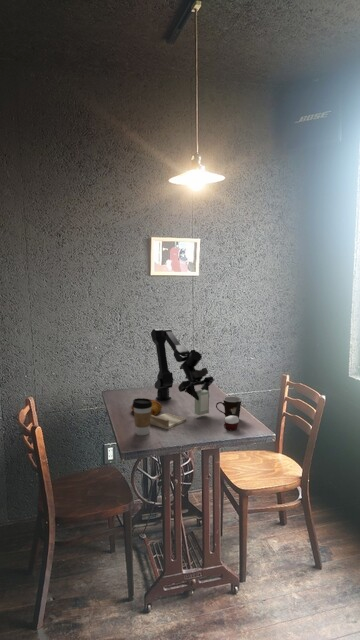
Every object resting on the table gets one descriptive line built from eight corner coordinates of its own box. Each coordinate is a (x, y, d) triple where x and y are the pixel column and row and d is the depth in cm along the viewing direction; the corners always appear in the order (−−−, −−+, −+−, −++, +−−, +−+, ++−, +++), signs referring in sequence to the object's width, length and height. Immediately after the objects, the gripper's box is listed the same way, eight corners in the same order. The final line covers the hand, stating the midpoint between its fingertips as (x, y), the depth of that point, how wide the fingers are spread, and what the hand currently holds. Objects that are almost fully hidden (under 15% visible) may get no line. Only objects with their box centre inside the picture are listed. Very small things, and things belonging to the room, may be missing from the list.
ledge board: (165, 414, 210) (165, 407, 209) (186, 420, 201) (186, 412, 201) (146, 422, 199) (146, 414, 198) (167, 429, 191) (167, 420, 190)
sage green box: (194, 413, 206) (194, 391, 205) (204, 410, 210) (204, 389, 208) (199, 415, 203) (199, 393, 202) (208, 413, 207) (209, 391, 205)
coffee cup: (133, 429, 190) (132, 397, 188) (152, 429, 191) (151, 396, 189) (132, 437, 182) (132, 403, 180) (152, 436, 183) (152, 402, 181)
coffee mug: (242, 417, 206) (243, 397, 205) (239, 423, 198) (239, 402, 197) (219, 414, 210) (219, 395, 208) (215, 420, 202) (215, 400, 200)
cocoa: (224, 433, 187) (224, 407, 185) (220, 427, 193) (219, 402, 191) (244, 430, 189) (244, 405, 187) (240, 424, 195) (239, 400, 193)
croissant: (141, 423, 204) (141, 408, 202) (127, 410, 216) (127, 396, 214) (166, 417, 212) (167, 402, 210) (151, 404, 224) (152, 390, 222)
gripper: (181, 365, 201) (195, 393, 194) (212, 360, 212) (226, 387, 204) (172, 377, 209) (185, 405, 201) (202, 372, 219) (215, 398, 212)
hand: (203, 398), depth 204 cm, fingers closed on sage green box, 6 cm apart
